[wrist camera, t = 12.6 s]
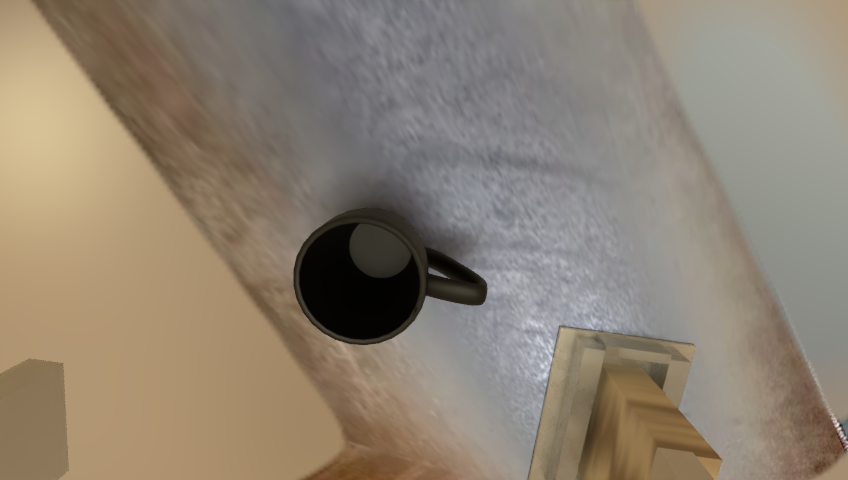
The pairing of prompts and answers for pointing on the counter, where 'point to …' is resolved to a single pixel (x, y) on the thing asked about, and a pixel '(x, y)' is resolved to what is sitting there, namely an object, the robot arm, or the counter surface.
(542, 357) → the counter surface
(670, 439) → the wooden block
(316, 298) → the mug
